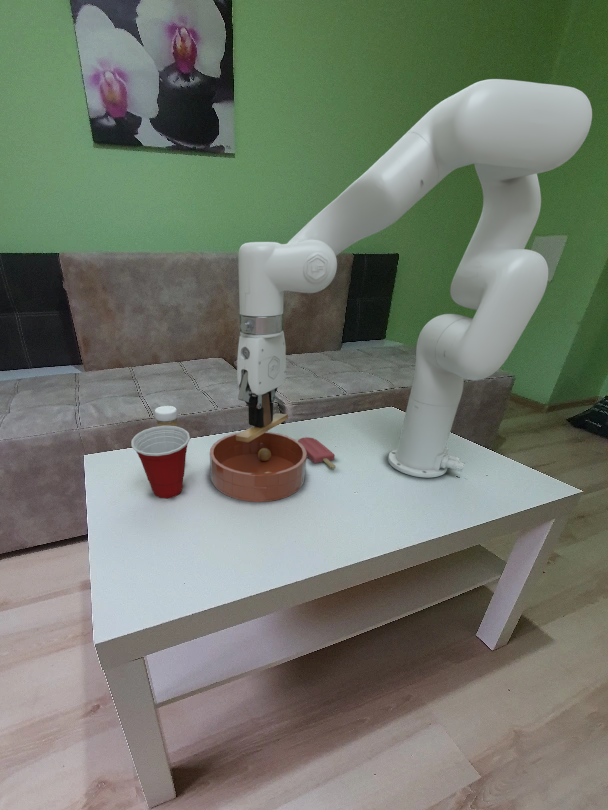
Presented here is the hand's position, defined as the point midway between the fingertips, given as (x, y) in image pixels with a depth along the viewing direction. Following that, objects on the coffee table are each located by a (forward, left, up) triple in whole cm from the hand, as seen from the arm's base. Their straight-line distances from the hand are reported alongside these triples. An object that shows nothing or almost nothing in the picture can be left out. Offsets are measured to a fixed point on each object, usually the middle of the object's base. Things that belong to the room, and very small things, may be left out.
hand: (260, 422), depth 77 cm
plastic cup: (+11, +16, -13) cm, 23 cm away
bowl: (0, 0, -12) cm, 12 cm away
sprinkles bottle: (+18, +8, -13) cm, 24 cm away
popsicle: (-6, -16, -13) cm, 21 cm away
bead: (+3, -5, -10) cm, 12 cm away
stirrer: (-1, 0, -1) cm, 1 cm away
